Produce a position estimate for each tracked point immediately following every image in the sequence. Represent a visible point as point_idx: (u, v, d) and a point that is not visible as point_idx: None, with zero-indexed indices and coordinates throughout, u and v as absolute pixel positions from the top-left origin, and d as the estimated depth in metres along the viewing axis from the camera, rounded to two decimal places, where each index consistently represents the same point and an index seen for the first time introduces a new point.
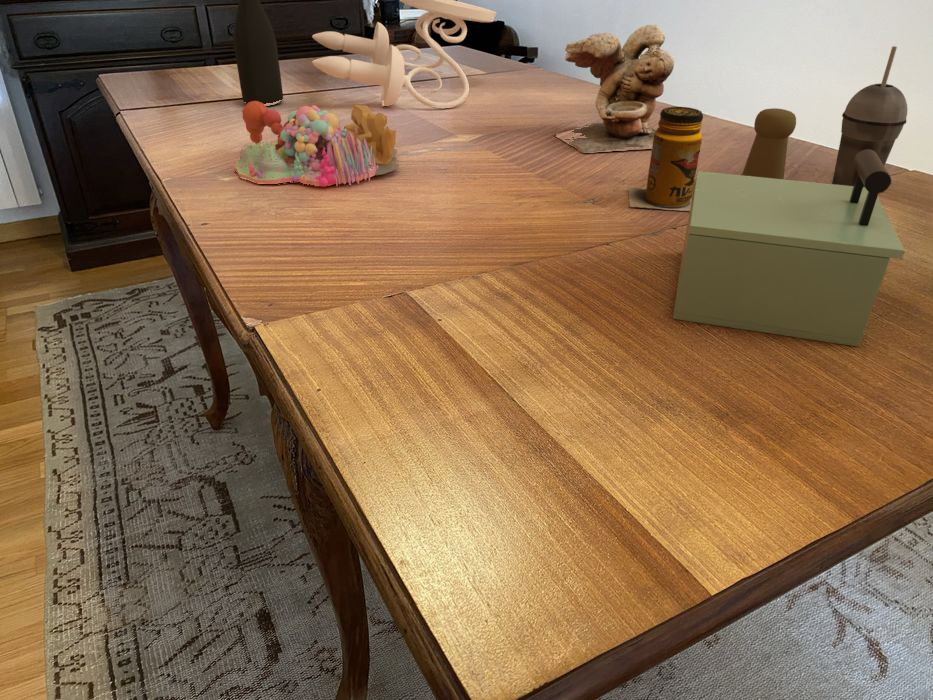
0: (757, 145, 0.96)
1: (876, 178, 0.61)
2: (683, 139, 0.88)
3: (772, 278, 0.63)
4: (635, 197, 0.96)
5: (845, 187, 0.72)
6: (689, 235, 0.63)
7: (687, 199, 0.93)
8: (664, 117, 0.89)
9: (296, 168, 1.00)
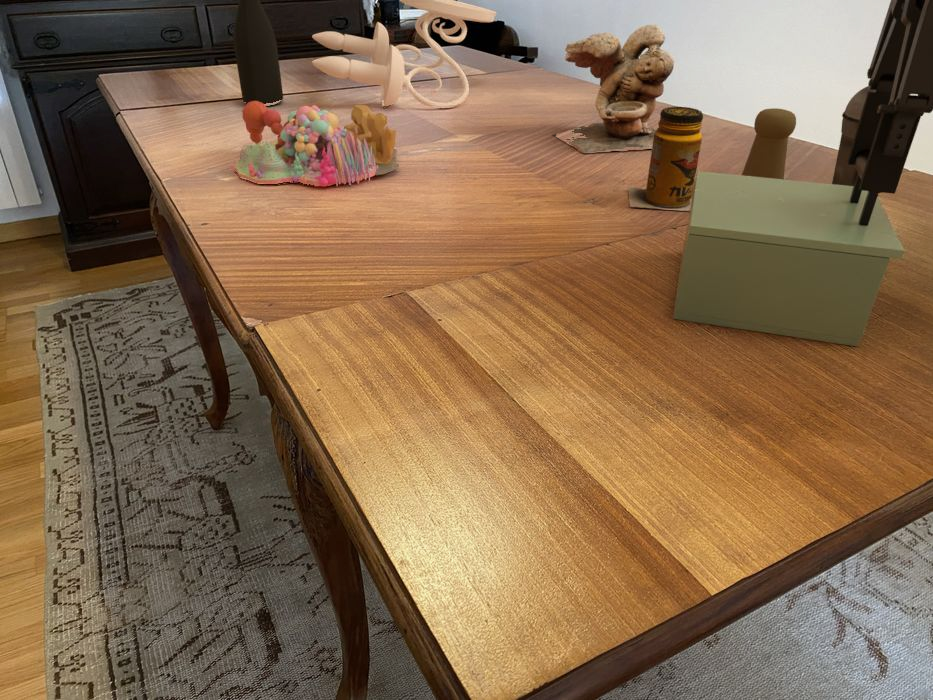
0: (757, 145, 0.96)
1: None
2: (683, 139, 0.88)
3: (772, 278, 0.63)
4: (635, 197, 0.96)
5: (845, 187, 0.72)
6: (689, 235, 0.63)
7: (687, 199, 0.93)
8: (664, 117, 0.89)
9: (296, 168, 1.00)
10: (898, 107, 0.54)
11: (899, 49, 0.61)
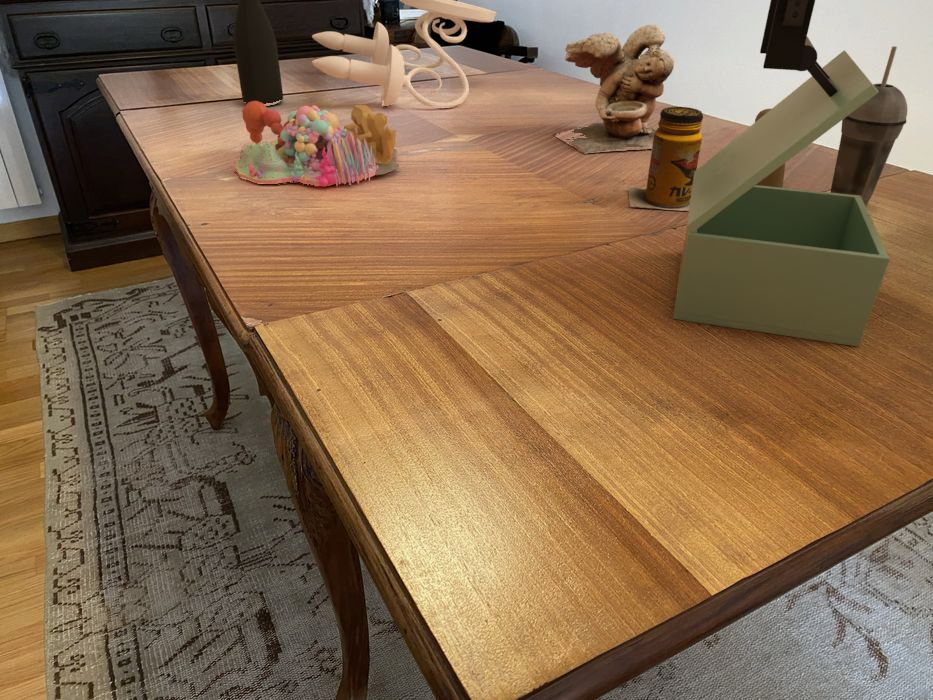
0: None
1: None
2: (683, 139, 0.88)
3: (772, 278, 0.63)
4: (635, 197, 0.96)
5: None
6: (689, 235, 0.63)
7: (687, 199, 0.93)
8: (664, 117, 0.89)
9: (296, 168, 1.00)
10: None
11: None
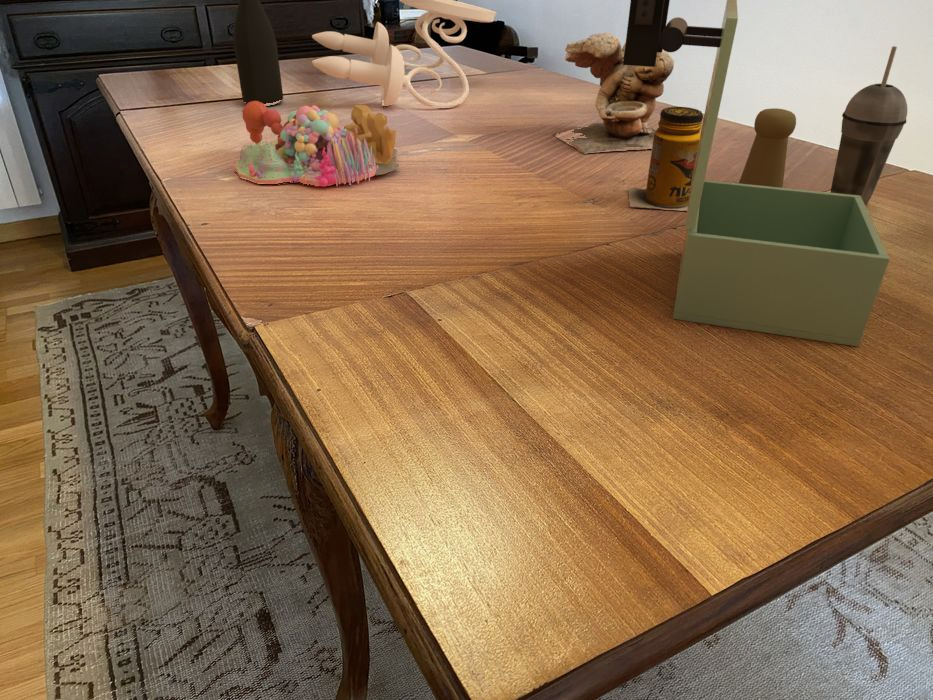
0: (757, 145, 0.96)
1: (666, 42, 0.60)
2: (683, 139, 0.88)
3: (772, 278, 0.63)
4: (635, 197, 0.96)
5: None
6: (689, 235, 0.63)
7: (687, 199, 0.93)
8: (664, 117, 0.89)
9: (296, 168, 1.00)
10: None
11: None
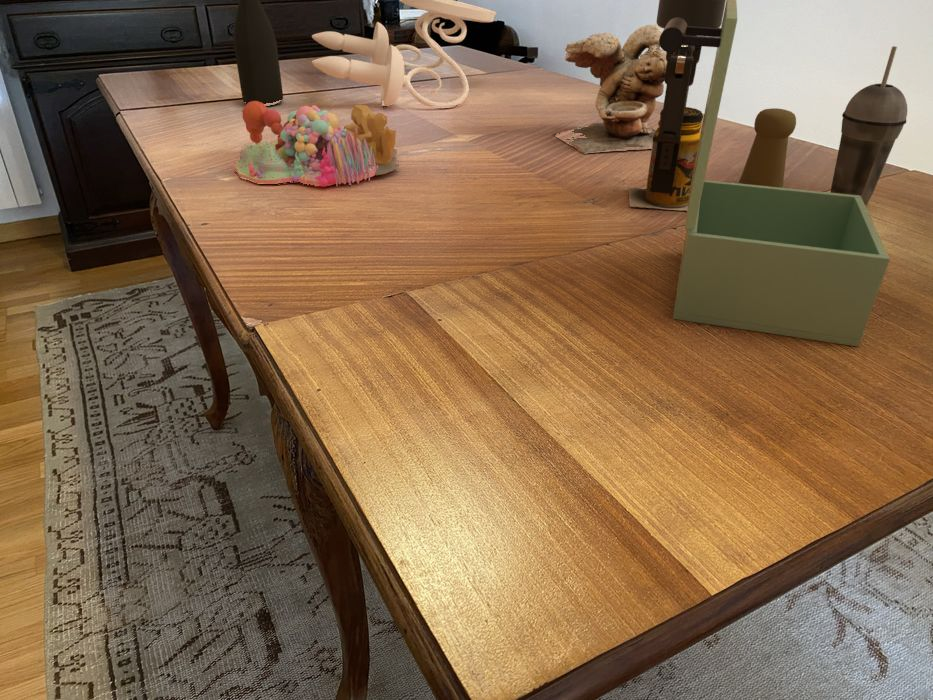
0: (757, 145, 0.96)
1: (666, 42, 0.60)
2: (683, 139, 0.88)
3: (772, 278, 0.63)
4: (635, 197, 0.96)
5: None
6: (689, 235, 0.63)
7: (687, 199, 0.93)
8: None
9: (296, 168, 1.00)
10: (658, 139, 0.85)
11: None
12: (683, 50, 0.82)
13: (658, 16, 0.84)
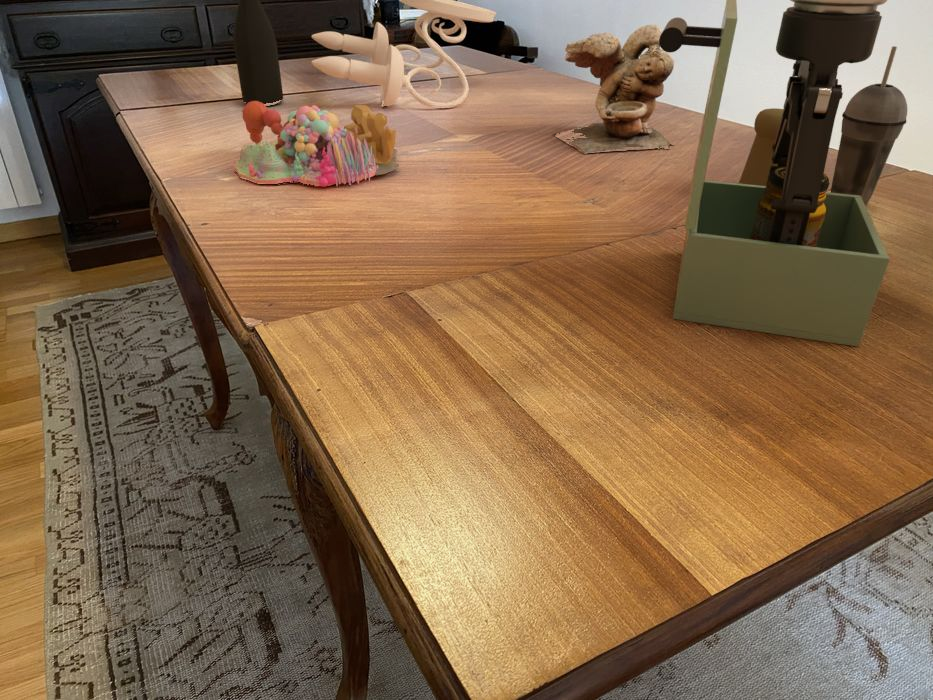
0: (757, 145, 0.96)
1: (666, 42, 0.60)
2: None
3: (772, 278, 0.63)
4: None
5: None
6: (689, 235, 0.63)
7: None
8: (776, 183, 0.65)
9: (296, 168, 1.00)
10: (785, 206, 0.59)
11: None
12: (823, 84, 0.57)
13: (781, 42, 0.60)
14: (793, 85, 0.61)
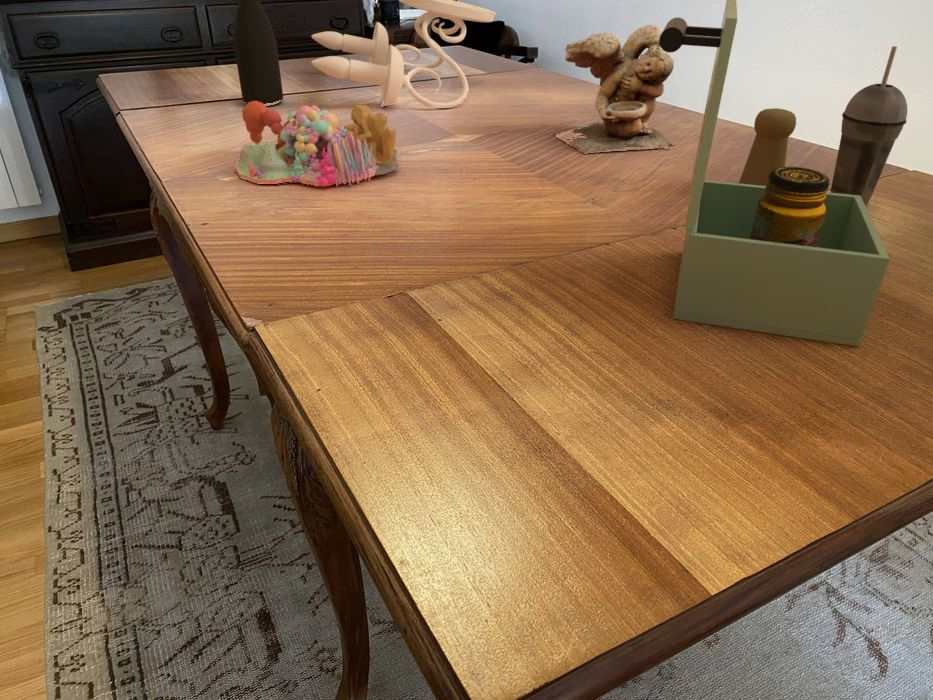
0: (757, 145, 0.96)
1: (666, 42, 0.60)
2: (803, 214, 0.65)
3: (772, 278, 0.63)
4: None
5: None
6: (689, 235, 0.63)
7: None
8: (777, 183, 0.65)
9: (296, 168, 1.00)
10: None
11: None
12: None
13: None
14: None
